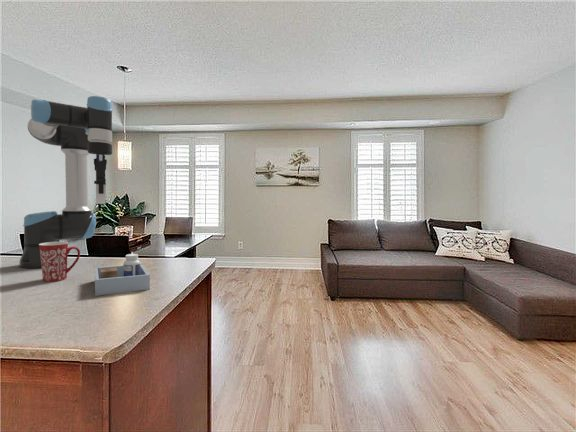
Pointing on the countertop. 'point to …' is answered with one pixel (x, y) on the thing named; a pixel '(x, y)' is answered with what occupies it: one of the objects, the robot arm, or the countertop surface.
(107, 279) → the tote
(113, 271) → the wooden cube
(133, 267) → the pill bottle
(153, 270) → the countertop surface
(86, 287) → the countertop surface
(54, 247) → the mug
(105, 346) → the countertop surface
